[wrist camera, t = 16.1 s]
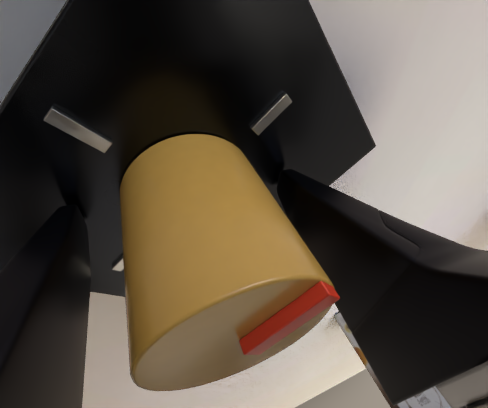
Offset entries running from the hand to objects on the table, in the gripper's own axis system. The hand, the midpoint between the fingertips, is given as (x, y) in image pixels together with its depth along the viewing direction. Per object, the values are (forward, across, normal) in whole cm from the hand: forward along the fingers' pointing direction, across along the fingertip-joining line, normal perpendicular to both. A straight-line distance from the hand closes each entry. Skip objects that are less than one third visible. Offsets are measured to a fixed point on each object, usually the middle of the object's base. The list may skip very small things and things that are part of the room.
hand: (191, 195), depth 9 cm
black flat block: (+3, 0, 0) cm, 3 cm away
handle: (0, 0, 0) cm, 0 cm away
